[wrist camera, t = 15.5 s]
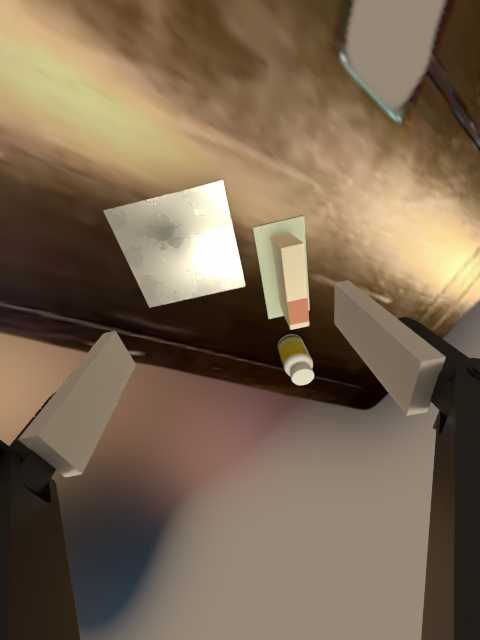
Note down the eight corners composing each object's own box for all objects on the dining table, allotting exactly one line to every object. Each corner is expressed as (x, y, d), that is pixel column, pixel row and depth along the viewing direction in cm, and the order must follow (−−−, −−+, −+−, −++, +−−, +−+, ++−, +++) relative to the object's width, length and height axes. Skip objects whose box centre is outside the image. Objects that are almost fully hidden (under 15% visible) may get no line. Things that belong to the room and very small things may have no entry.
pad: (252, 227, 36) (253, 227, 36) (303, 215, 36) (303, 215, 35) (268, 317, 45) (268, 318, 44) (308, 309, 44) (309, 310, 44)
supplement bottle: (271, 343, 48) (281, 377, 40) (292, 328, 47) (307, 360, 38) (287, 357, 50) (299, 392, 42) (307, 343, 49) (324, 377, 40)
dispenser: (143, 201, 33) (103, 210, 22) (223, 181, 33) (222, 180, 22) (172, 275, 39) (151, 311, 28) (240, 259, 39) (246, 290, 28)
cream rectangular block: (270, 236, 36) (281, 248, 29) (288, 231, 36) (304, 243, 29) (280, 306, 43) (290, 330, 36) (295, 303, 43) (309, 326, 36)
